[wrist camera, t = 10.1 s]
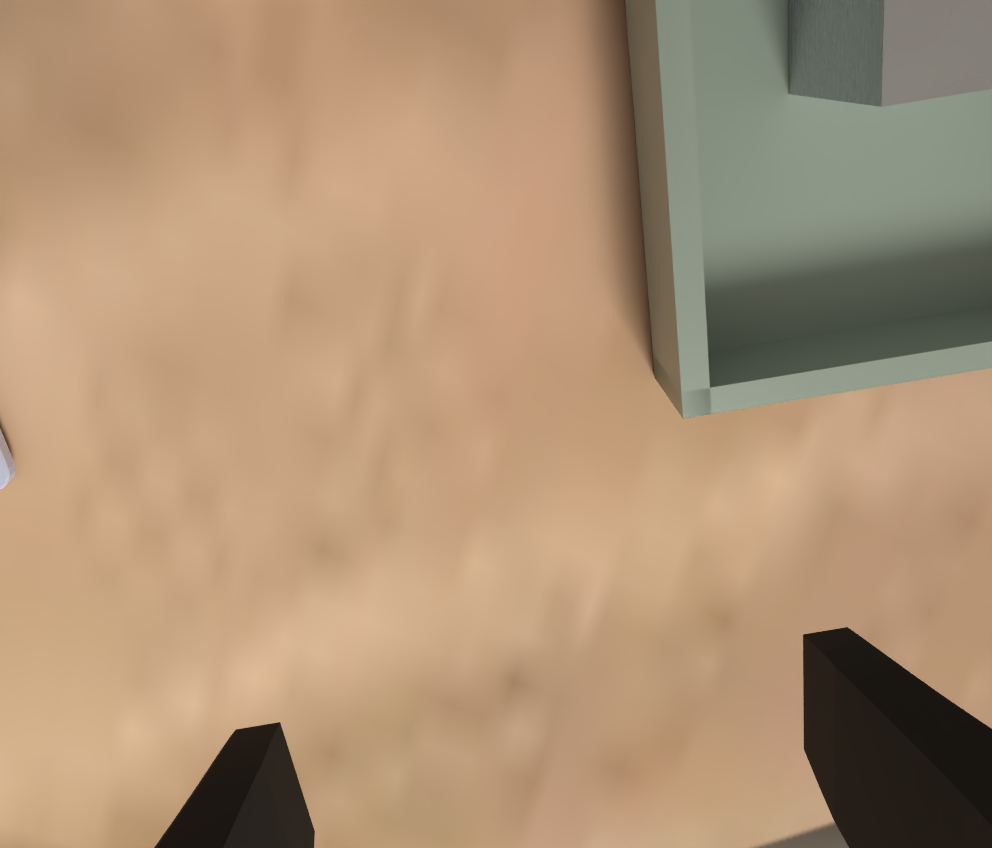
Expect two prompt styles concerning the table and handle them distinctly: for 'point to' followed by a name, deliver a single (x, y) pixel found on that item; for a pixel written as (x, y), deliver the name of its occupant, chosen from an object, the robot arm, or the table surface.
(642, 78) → the bin tray
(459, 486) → the table surface
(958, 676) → the table surface
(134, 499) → the table surface
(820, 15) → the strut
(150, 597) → the table surface
